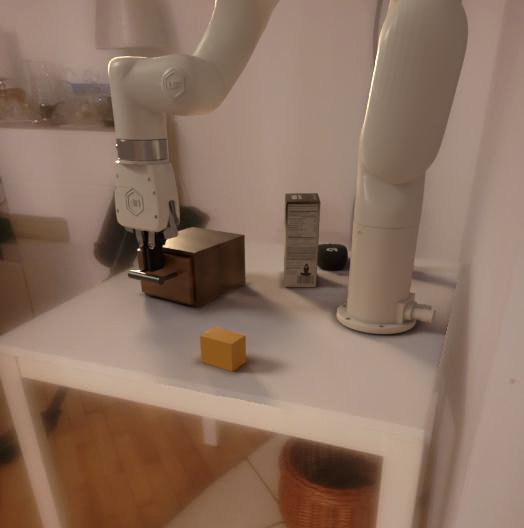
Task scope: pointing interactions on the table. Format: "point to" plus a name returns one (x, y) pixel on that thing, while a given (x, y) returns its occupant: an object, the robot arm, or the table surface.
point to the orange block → (223, 348)
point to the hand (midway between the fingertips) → (154, 269)
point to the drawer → (167, 278)
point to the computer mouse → (332, 256)
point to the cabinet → (210, 261)
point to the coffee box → (301, 239)
